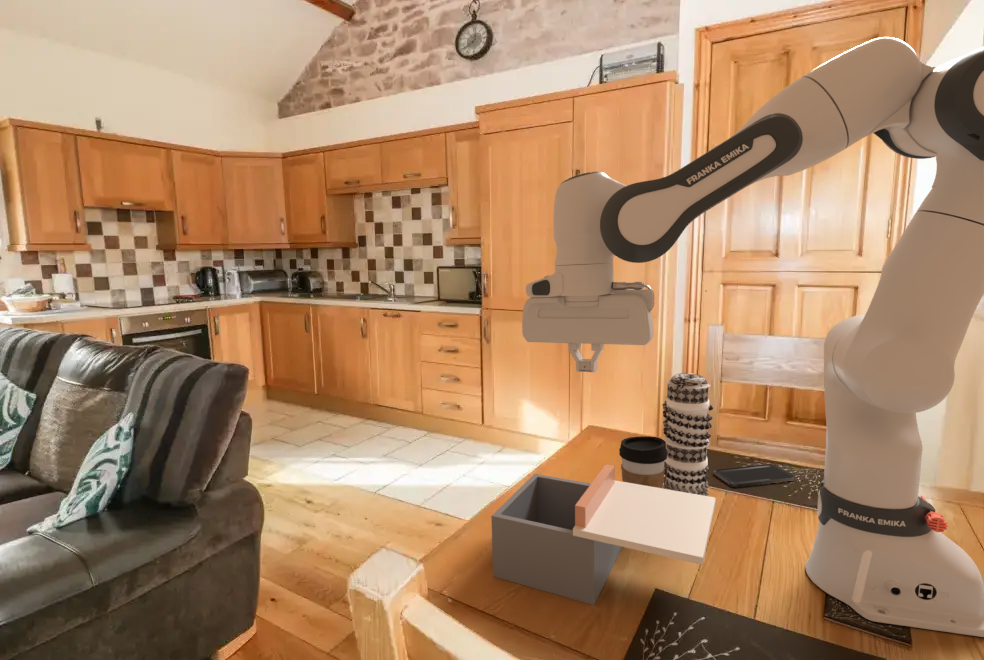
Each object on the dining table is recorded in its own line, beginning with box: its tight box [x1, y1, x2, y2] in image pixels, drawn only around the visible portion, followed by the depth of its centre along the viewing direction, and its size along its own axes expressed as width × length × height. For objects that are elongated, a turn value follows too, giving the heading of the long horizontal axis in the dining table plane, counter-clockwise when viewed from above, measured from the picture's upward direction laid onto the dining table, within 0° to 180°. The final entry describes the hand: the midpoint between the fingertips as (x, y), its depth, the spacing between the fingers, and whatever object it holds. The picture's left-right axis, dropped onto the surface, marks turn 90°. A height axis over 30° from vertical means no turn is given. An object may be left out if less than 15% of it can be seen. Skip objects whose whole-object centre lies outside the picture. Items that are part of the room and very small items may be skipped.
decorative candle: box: [662, 372, 714, 496], centre depth 104 cm, size 9×9×25 cm
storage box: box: [491, 473, 623, 606], centre depth 85 cm, size 16×17×10 cm
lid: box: [573, 464, 717, 566], centre depth 78 cm, size 17×18×4 cm
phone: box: [713, 464, 796, 488], centre depth 115 cm, size 8×1×15 cm
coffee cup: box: [618, 435, 667, 489], centre depth 97 cm, size 8×8×15 cm
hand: (586, 371), depth 83 cm, fingers closed
